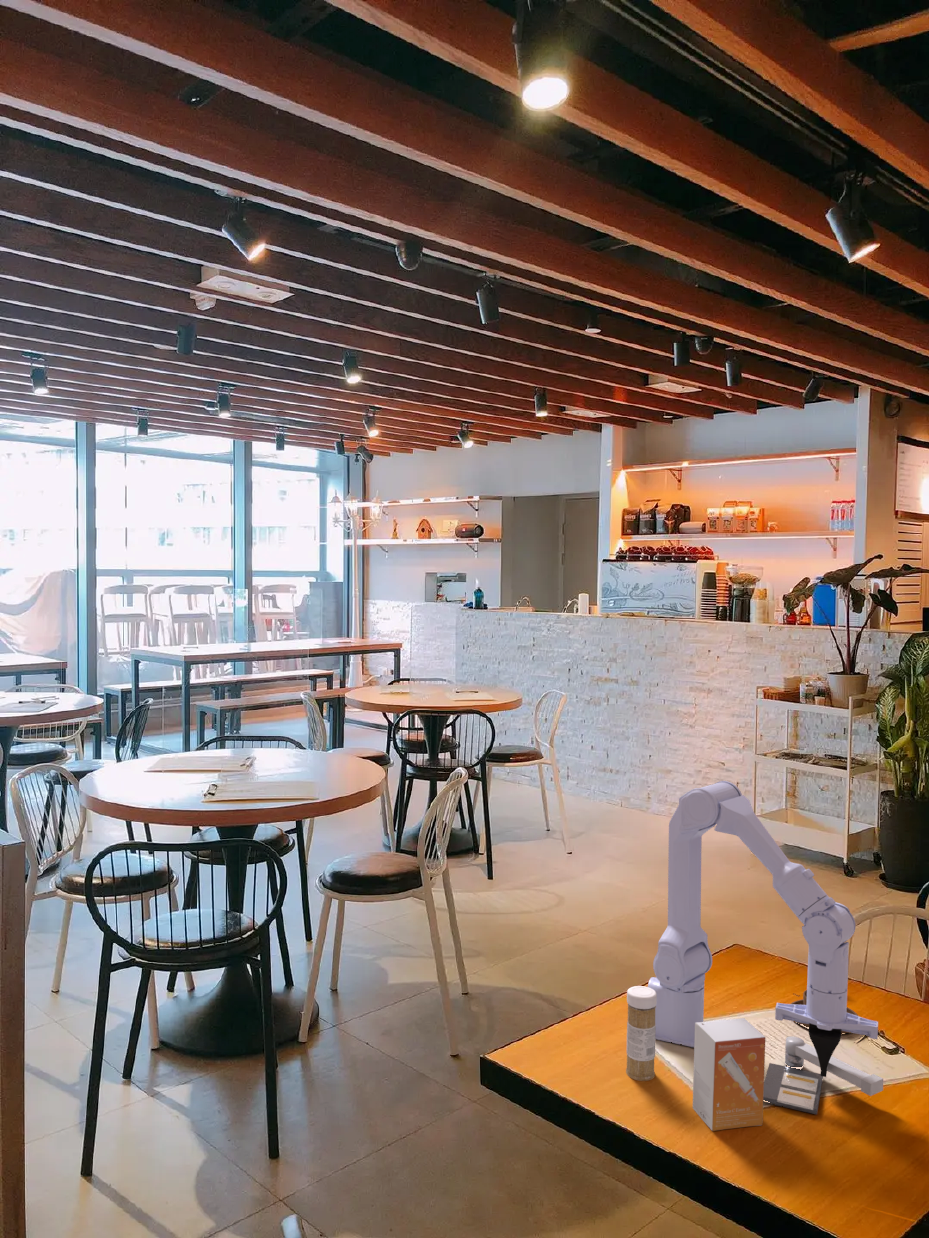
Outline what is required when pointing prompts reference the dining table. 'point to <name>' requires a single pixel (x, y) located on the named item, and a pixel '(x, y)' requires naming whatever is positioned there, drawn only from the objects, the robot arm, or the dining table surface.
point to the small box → (728, 1073)
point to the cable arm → (836, 1067)
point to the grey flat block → (793, 1086)
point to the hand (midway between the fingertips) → (823, 1073)
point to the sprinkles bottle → (641, 1033)
